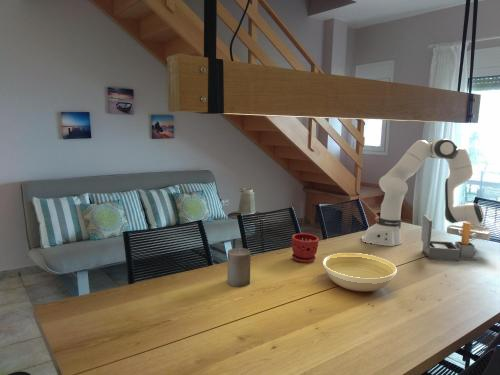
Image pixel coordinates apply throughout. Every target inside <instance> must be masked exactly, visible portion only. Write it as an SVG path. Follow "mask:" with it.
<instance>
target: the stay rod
mask: <svg viewBox="0 0 500 375" xmlns="http://www.w3.org/2000/svg"><path fill="white" fill-rule="evenodd" d="M462 226H463V229H462V236H461V238H460V239H461V240H460V242H461V245H469V243H470V240H471V239H470V238H469V235H470V229H471V223H468V222H467V221H463V222H462Z"/></svg>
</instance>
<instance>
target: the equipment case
mask: <svg viewBox="0 0 500 375" xmlns="http://www.w3.org/2000/svg"><path fill="white" fill-rule="evenodd" d="M421 227H422V228H421V240H420V241H421V242H422V252H423V254H425V256H426V258H427V259H428V260H434V261H435V260H436V261H447V262H448V261H449V262H459V261H460V259H459V252H460V250H459V249H458V248H457V247H456V246H455V243H453V241H441V240H431V238H432V227H433V220H432V219H431V218H430V217H429V216H428V215H427V214H423V215H422V225H421Z"/></svg>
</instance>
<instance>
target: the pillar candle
mask: <svg viewBox="0 0 500 375" xmlns="http://www.w3.org/2000/svg"><path fill="white" fill-rule="evenodd" d="M251 253H252V252H251V250H250V249H247V248H243V247H236V248H230V249H228V250H227V280H226V281H227V285H230V286H231V287H236V288H240V287H241V288H243V287H246V286H249V285H250V283H251V255H252V254H251Z"/></svg>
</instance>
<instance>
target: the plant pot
mask: <svg viewBox="0 0 500 375" xmlns="http://www.w3.org/2000/svg"><path fill="white" fill-rule="evenodd" d="M319 241H320V240H319V237H318V236H316V235H313V234H310V233H294V234H293V235H292V236H291V248H292V252H293V253H292V254H291V257H292V259H293V260H294V261H296V262H297V263H298V262H299V263H303V264H304V263H305V264H307V263H312V262H314V261H315V260H316V256H315V255H316V254H317V252H318V248H319Z"/></svg>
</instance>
